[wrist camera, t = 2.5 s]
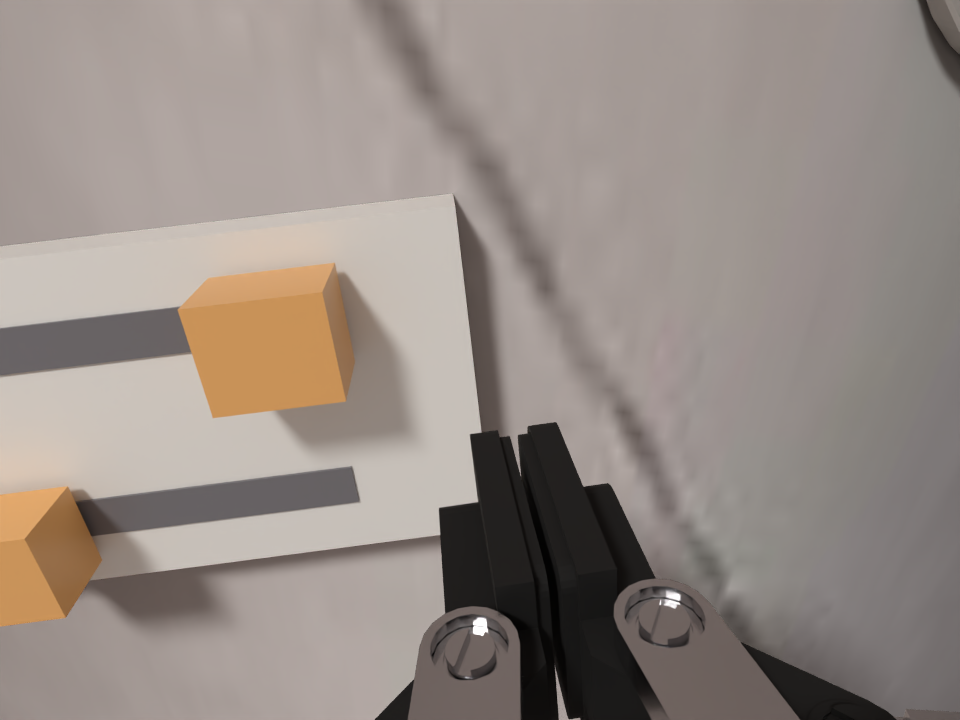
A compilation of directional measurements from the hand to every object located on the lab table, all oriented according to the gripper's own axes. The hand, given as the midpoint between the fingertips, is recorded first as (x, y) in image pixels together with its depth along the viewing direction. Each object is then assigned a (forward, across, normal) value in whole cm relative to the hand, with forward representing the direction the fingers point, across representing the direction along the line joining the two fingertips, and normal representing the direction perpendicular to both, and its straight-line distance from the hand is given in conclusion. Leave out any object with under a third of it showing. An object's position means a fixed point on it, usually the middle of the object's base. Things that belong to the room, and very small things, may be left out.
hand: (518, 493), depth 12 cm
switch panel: (+13, +13, +3) cm, 19 cm away
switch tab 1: (+11, +17, +7) cm, 21 cm away
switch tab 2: (+10, +6, 0) cm, 12 cm away
